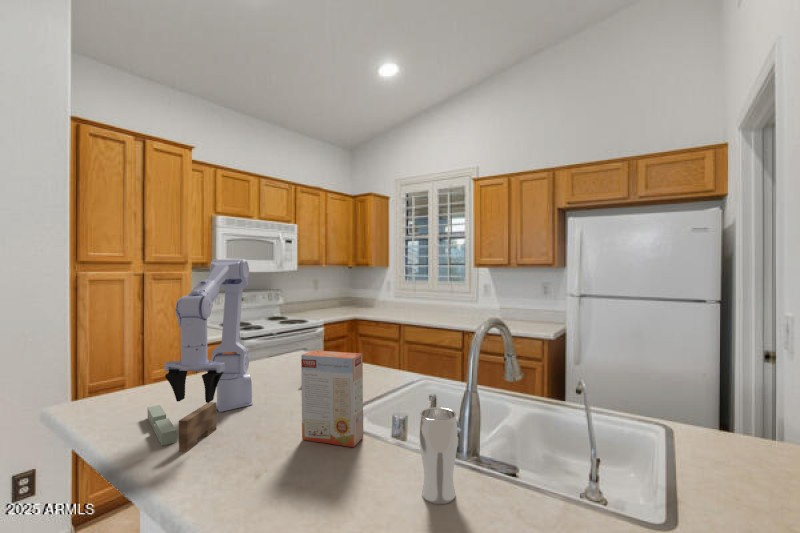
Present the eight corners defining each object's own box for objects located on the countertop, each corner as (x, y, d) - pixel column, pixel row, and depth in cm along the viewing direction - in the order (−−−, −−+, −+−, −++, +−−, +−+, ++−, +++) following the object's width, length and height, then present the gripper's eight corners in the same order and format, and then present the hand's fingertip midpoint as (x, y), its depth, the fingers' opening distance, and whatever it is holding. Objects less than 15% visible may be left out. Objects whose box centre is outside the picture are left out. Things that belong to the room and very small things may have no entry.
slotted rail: (160, 415, 112) (159, 404, 112) (176, 442, 96) (176, 429, 96) (147, 418, 111) (147, 407, 110) (161, 445, 94) (161, 433, 94)
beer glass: (417, 485, 76) (417, 407, 76) (453, 483, 77) (452, 406, 77) (422, 507, 70) (422, 421, 69) (461, 505, 70) (461, 420, 70)
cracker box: (364, 437, 97) (363, 352, 97) (353, 448, 92) (352, 358, 91) (314, 430, 102) (313, 348, 102) (301, 440, 96) (300, 354, 96)
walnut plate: (208, 429, 103) (208, 402, 103) (216, 429, 103) (216, 402, 103) (179, 451, 91) (178, 420, 91) (187, 451, 91) (187, 420, 91)
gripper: (154, 347, 94) (155, 405, 94) (212, 349, 92) (213, 407, 92) (175, 341, 101) (175, 395, 101) (229, 342, 99) (229, 397, 99)
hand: (195, 400), depth 97 cm, fingers open, 7 cm apart
